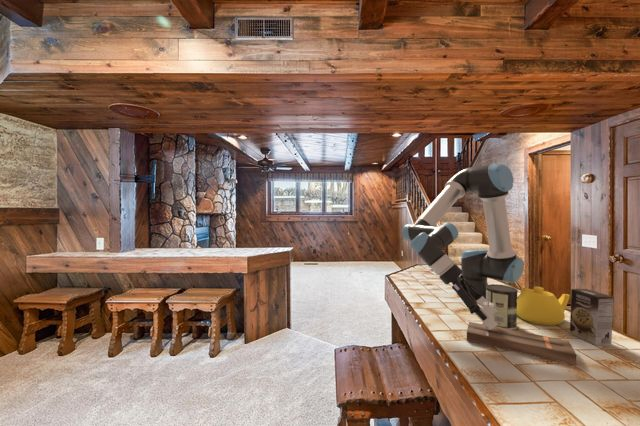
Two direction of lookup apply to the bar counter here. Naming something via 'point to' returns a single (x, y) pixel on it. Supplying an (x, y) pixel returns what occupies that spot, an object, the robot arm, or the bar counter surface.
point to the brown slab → (522, 342)
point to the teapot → (541, 306)
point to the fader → (488, 310)
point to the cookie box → (591, 316)
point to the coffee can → (503, 305)
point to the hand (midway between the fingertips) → (494, 320)
